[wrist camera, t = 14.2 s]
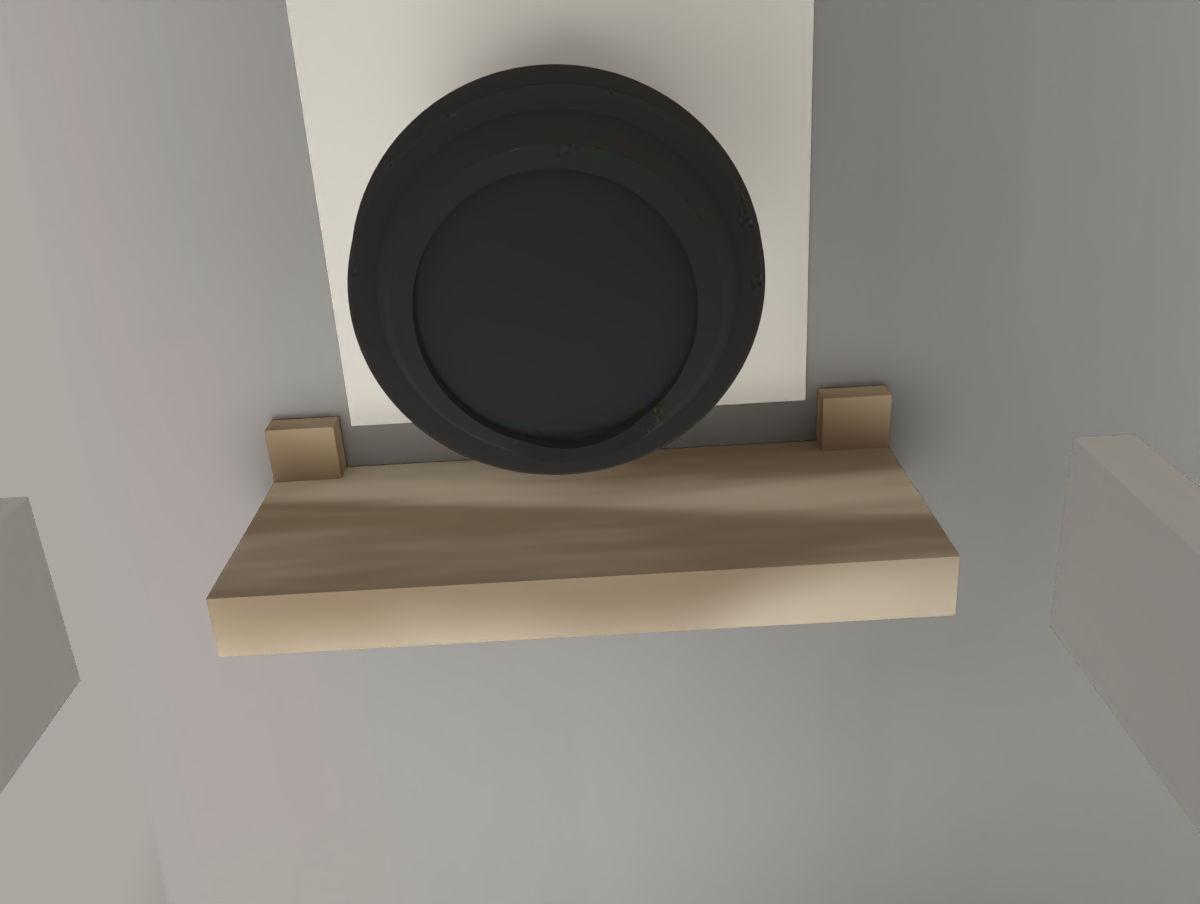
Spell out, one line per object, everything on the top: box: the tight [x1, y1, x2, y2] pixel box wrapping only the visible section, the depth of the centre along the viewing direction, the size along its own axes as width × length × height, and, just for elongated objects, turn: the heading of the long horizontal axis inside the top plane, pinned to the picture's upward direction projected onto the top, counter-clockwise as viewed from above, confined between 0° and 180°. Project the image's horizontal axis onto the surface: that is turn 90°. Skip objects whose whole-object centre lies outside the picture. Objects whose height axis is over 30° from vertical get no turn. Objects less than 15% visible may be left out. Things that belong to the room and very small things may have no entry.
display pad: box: [286, 0, 814, 426], centre depth 36 cm, size 16×16×1 cm
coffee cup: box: [347, 64, 765, 475], centre depth 29 cm, size 9×9×15 cm
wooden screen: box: [206, 385, 960, 657], centre depth 37 cm, size 6×22×9 cm, turn 93°
